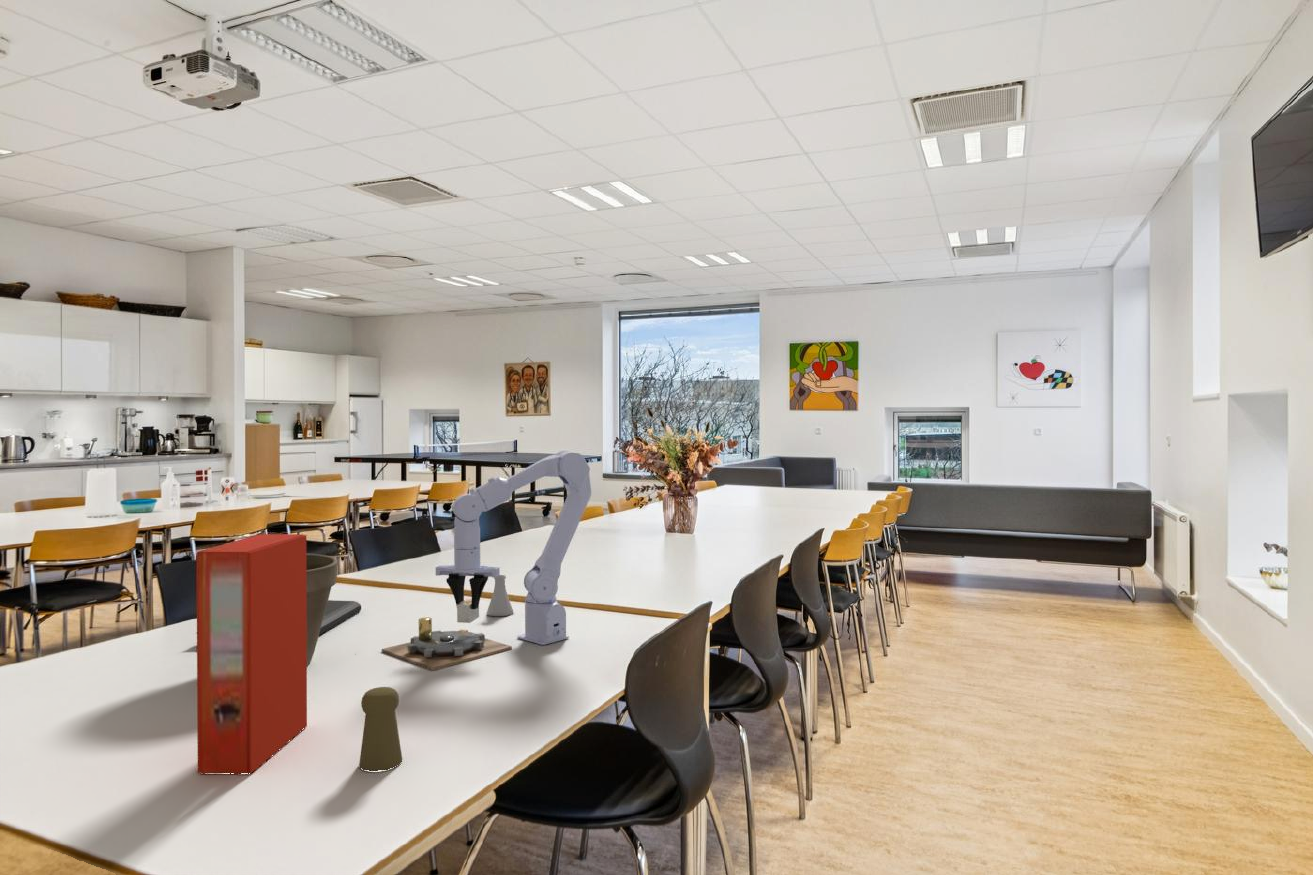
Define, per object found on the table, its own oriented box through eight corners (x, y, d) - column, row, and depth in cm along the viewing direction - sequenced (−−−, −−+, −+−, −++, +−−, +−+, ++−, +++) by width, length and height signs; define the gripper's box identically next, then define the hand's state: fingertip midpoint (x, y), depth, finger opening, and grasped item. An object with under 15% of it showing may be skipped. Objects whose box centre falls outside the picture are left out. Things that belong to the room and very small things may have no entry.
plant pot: (364, 660, 165) (363, 558, 165) (253, 695, 144) (251, 578, 144) (290, 643, 178) (289, 548, 178) (178, 673, 157) (177, 566, 156)
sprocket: (478, 632, 183) (478, 607, 183) (491, 652, 168) (491, 624, 168) (404, 640, 177) (404, 614, 177) (410, 661, 161) (410, 633, 161)
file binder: (308, 727, 129) (306, 534, 128) (253, 774, 112) (250, 551, 111) (260, 727, 129) (257, 534, 128) (197, 774, 112) (194, 551, 111)
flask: (517, 610, 208) (517, 573, 208) (509, 617, 201) (509, 579, 201) (490, 610, 209) (490, 573, 209) (482, 617, 202) (481, 578, 202)
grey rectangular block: (479, 616, 179) (478, 599, 179) (469, 622, 174) (469, 604, 174) (466, 616, 179) (466, 598, 179) (457, 622, 174) (457, 604, 174)
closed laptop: (271, 598, 208) (361, 600, 208) (271, 613, 208) (361, 615, 208) (194, 631, 175) (301, 633, 175) (194, 649, 175) (300, 651, 175)
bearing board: (511, 649, 173) (511, 646, 173) (432, 670, 158) (432, 667, 158) (459, 633, 186) (459, 630, 186) (381, 651, 171) (381, 648, 171)
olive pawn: (407, 754, 118) (406, 682, 118) (395, 772, 112) (394, 696, 112) (367, 755, 118) (366, 682, 118) (352, 773, 112) (352, 696, 112)
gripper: (504, 545, 179) (504, 605, 179) (445, 544, 181) (445, 602, 181) (492, 550, 172) (492, 612, 172) (430, 549, 174) (431, 609, 175)
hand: (467, 607), depth 176 cm, fingers closed on grey rectangular block, 3 cm apart
